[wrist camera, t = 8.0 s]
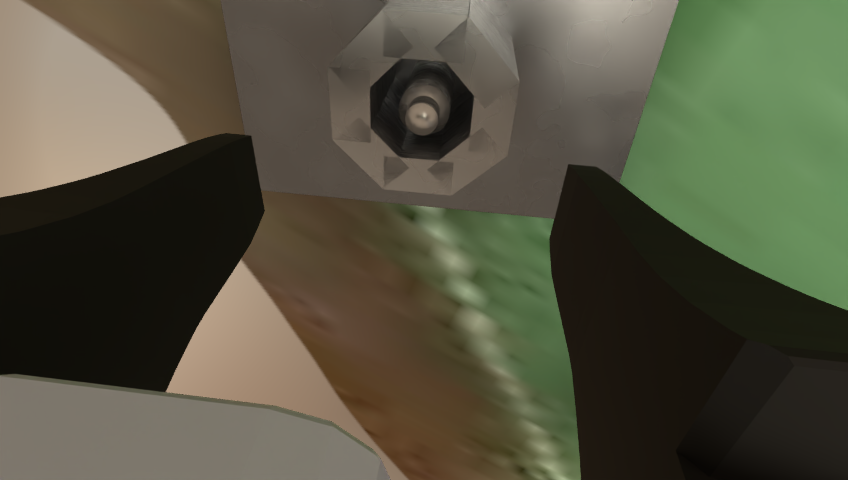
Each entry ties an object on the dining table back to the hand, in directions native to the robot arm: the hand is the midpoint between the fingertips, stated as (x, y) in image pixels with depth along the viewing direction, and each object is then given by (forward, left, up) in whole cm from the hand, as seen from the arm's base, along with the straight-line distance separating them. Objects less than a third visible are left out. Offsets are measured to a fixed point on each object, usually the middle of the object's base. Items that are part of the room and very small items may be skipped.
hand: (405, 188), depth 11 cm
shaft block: (0, 0, -10) cm, 10 cm away
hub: (0, 0, -9) cm, 9 cm away
